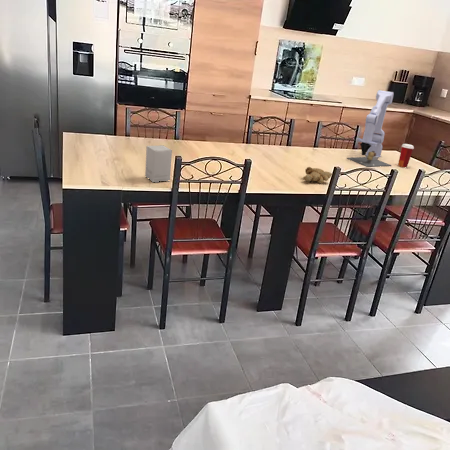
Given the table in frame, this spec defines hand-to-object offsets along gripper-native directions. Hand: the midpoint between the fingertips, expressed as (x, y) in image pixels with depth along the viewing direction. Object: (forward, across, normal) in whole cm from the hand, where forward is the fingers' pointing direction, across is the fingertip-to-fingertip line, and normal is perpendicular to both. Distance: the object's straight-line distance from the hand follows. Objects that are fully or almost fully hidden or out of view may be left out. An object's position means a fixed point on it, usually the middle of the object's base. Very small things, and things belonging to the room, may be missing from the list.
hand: (363, 154), depth 285 cm
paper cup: (+5, +15, +23) cm, 28 cm away
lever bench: (+5, +1, +6) cm, 8 cm away
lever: (+2, 0, +8) cm, 9 cm away
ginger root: (+5, +17, -65) cm, 67 cm away
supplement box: (+5, -9, -144) cm, 144 cm away
